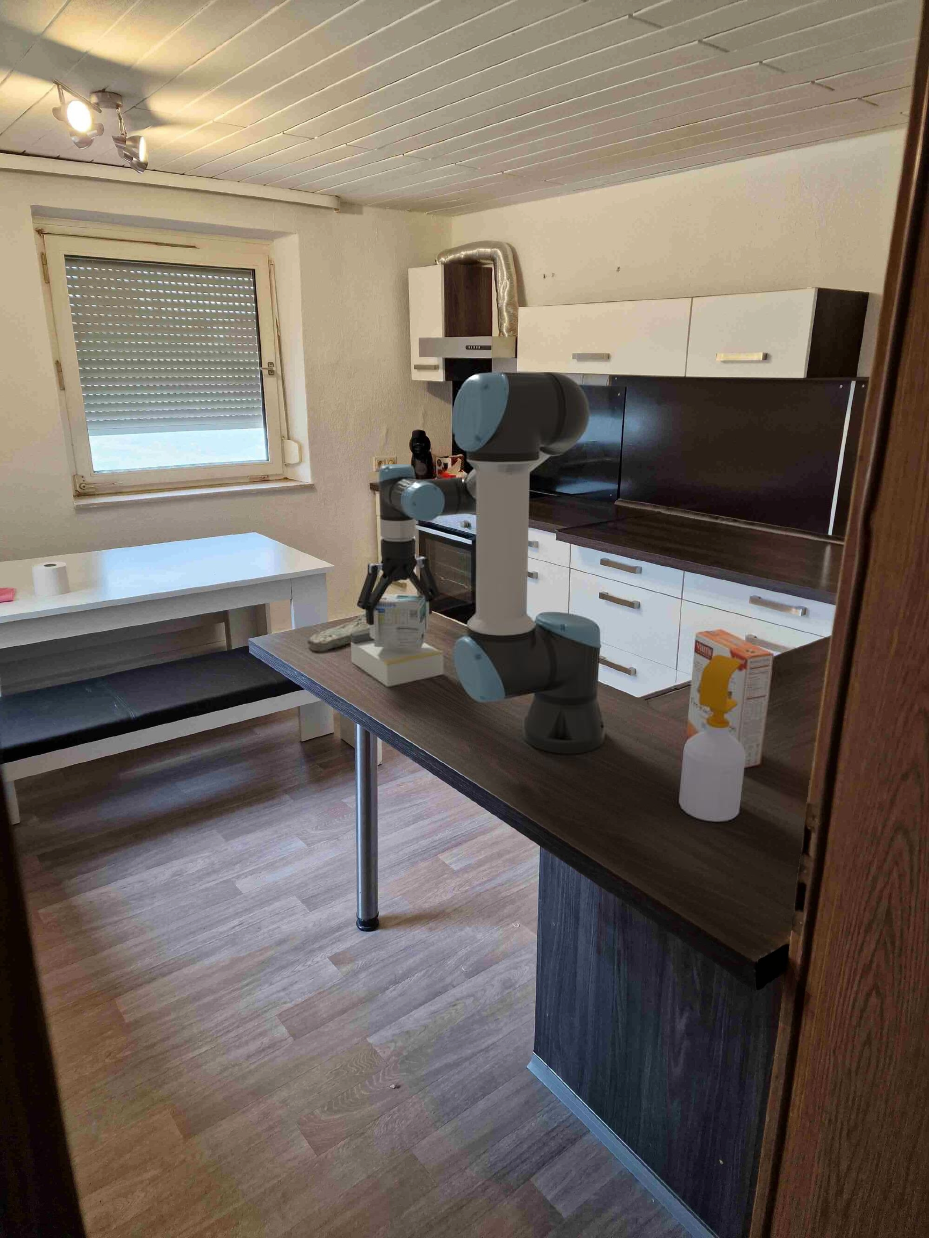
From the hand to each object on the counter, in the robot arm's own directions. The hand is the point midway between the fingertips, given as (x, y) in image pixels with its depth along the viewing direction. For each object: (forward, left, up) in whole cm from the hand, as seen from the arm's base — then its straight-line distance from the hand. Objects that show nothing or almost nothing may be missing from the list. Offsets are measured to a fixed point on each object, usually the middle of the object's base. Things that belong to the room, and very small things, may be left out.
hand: (400, 633), depth 180 cm
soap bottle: (-78, -13, -9) cm, 79 cm away
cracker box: (-66, -30, -9) cm, 73 cm away
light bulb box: (0, 0, -3) cm, 3 cm away
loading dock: (+2, 0, -9) cm, 9 cm away
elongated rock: (+29, -5, -9) cm, 31 cm away
